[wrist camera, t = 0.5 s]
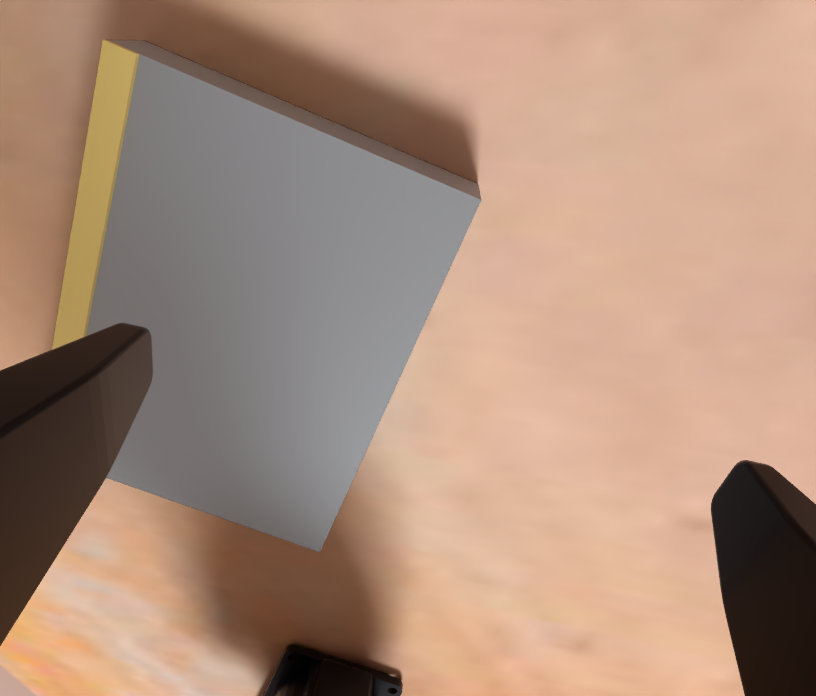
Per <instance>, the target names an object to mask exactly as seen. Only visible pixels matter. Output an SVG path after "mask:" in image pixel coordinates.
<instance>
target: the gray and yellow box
mask: <svg viewBox="0 0 816 696" xmlns="http://www.w3.org/2000/svg"><path fill="white" fill-rule="evenodd" d="M480 202H481V196H480V191H479V186H478V184H476V183H474V182H472V181H470V180H467V179H465V178H463V177H460V176H458V175H456V174H453V173H451V172H449V171H446V170H444V169H442V168H439V167H437V166H435V165H432V164H430V163H428V162H425V161H423V160H421V159H418V158H416V157H414V156H411V155H409V154H407V153H404V152H402V151H400V150H397V149H395V148H393V147H390V146H388V145H386V144H383V143H381V142H379V141H376V140H374V139H372V138H369V137H367V136H365V135H362V134H360V133H358V132H356V131H353V130H351V129H349V128H346V127H344V126H342V125H339V124H337V123H335V122H332V121H330V120H328V119H325V118H323V117H321V116H318V115H316V114H314V113H311V112H309V111H307V110H304V109H302V108H300V107H297V106H295V105H293V104H290V103H288V102H286V101H283V100H281V99H279V98H276V97H274V96H272V95H269V94H267V93H265V92H262V91H260V90H258V89H255V88H253V87H251V86H248V85H246V84H244V83H242V82H239V81H237V80H235V79H232V78H230V77H228V76H225V75H223V74H221V73H218V72H216V71H214V70H211V69H209V68H207V67H204V66H202V65H200V64H197V63H195V62H193V61H190V60H188V59H186V58H183V57H181V56H179V55H176V54H174V53H172V52H169V51H167V50H165V49H162V48H160V47H158V46H155V45H153V44H151V43H148V42H146V41H140V40H103V41H102V47H101V53H100V59H99V66H98V72H97V78H96V84H95V90H94V96H93V102H92V108H91V114H90V120H89V126H88V132H87V138H86V144H85V151H84V157H83V163H82V169H81V175H80V181H79V187H78V193H77V199H76V205H75V211H74V217H73V223H72V229H71V236H70V242H69V248H68V254H67V260H66V266H65V272H64V278H63V284H62V290H61V296H60V302H59V308H58V314H57V320H56V327H55V333H54V339H53V345H52V350H53V349H55V348H58V347H60V346H63V345H65V344H68V343H70V342H73V341H75V340H78V339H80V338H83V337H85V336H88V335H90V334H92V333H95V332H97V331H100V330H102V329H105V328H107V327H110V326H112V325H115V324H118V323H128V324H132V325H137V326H141V327H145V328H147V329H148V330H149V331H150V333H151V337H152V358H153V378H152V382H151V385H150V388H149V390H148V392H147V394H146V396H145V399H144V401H143V403H142V405H141V407H140V409H139V411H138V413H137V415H136V418H135V420H134V422H133V424H132V426H131V428H130V430H129V432H128V435H127V437H126V439H125V441H124V443H123V445H122V447H121V449H120V451H119V454H118V456H117V458H116V460H115V462H114V464H113V466H112V468H111V470H110V472H109V473H108V475H107V477H106V478H108V479H111V480H114V481H117V482H120V483H123V484H125V485H128V486H131V487H134V488H137V489H140V490H143V491H145V492H148V493H151V494H154V495H157V496H160V497H163V498H166V499H168V500H171V501H174V502H177V503H180V504H183V505H186V506H188V507H191V508H194V509H197V510H200V511H203V512H206V513H208V514H211V515H214V516H217V517H220V518H223V519H226V520H229V521H231V522H234V523H237V524H240V525H243V526H246V527H249V528H251V529H254V530H257V531H260V532H263V533H266V534H269V535H272V536H274V537H277V538H280V539H283V540H286V541H289V542H292V543H294V544H297V545H300V546H303V547H306V548H309V549H312V550H314V551H317V552H320V551H321V549H322V546H323V544H324V542H325V540H326V538H327V536H328V533H329V531H330V529H331V527H332V525H333V522H334V520H335V518H336V516H337V514H338V512H339V509H340V507H341V505H342V503H343V501H344V498H345V496H346V494H347V492H348V490H349V488H350V485H351V483H352V481H353V479H354V477H355V474H356V472H357V470H358V468H359V466H360V464H361V461H362V459H363V457H364V455H365V453H366V450H367V448H368V446H369V444H370V442H371V439H372V437H373V435H374V433H375V431H376V429H377V426H378V424H379V422H380V420H381V418H382V415H383V413H384V411H385V409H386V407H387V405H388V402H389V400H390V398H391V396H392V394H393V391H394V389H395V387H396V385H397V383H398V381H399V378H400V376H401V374H402V372H403V370H404V367H405V365H406V363H407V361H408V359H409V357H410V354H411V352H412V350H413V348H414V346H415V343H416V341H417V339H418V337H419V335H420V333H421V330H422V328H423V326H424V324H425V322H426V319H427V317H428V315H429V313H430V311H431V308H432V306H433V304H434V302H435V300H436V298H437V295H438V293H439V291H440V289H441V287H442V284H443V282H444V280H445V278H446V276H447V274H448V271H449V269H450V267H451V265H452V263H453V260H454V258H455V256H456V254H457V252H458V250H459V247H460V245H461V243H462V241H463V239H464V236H465V234H466V232H467V230H468V228H469V226H470V223H471V221H472V219H473V217H474V215H475V212H476V210H477V208H478V206H479V204H480Z"/></svg>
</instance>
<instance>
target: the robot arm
mask: <svg viewBox="0 0 816 696" xmlns="http://www.w3.org/2000/svg"><path fill="white" fill-rule="evenodd" d="M152 378H153V358H152V337H151V333H150V331H149V330H148V329H147V328H145V327H141V326H137V325H132V324H128V323H118V324H115V325H112V326H110V327H107V328H105V329H102V330H100V331H97V332H95V333H92V334H90V335H88V336H85V337H83V338H80V339H78V340H75V341H73V342H70V343H68V344H65V345H63V346H60V347H58V348H55V349H53V350H50V351H48V352H45V353H43V354H40V355H38V356H35V357H33V358H30V359H28V360H25V361H23V362H21V363H18V364H16V365H13V366H11V367H8V368H6V369H3V370H1V371H0V646H1V644H2V643H3V641H4V639H5V638H6V636H7V635H8V633H9V631H10V630H11V628H12V627H13V625H14V623H15V622H16V620H17V619H18V617H19V616H20V614H21V612H22V611H23V609H24V608H25V606H26V604H27V603H28V601H29V600H30V598H31V596H32V595H33V593H34V592H35V590H36V589H37V587H38V585H39V584H40V582H41V581H42V579H43V577H44V576H45V574H46V573H47V571H48V569H49V568H50V566H51V565H52V563H53V562H54V560H55V558H56V557H57V555H58V554H59V552H60V550H61V549H62V547H63V546H64V544H65V542H66V541H67V539H68V538H69V536H70V535H71V533H72V531H73V530H74V528H75V527H76V525H77V523H78V522H79V520H80V519H81V517H82V515H83V514H84V512H85V511H86V509H87V508H88V506H89V504H90V503H91V501H92V500H93V498H94V496H95V495H96V493H97V492H98V490H99V488H100V487H101V485H102V484H103V482H104V480H105V478H106V477H107V475H108V473H109V472H110V470H111V468H112V466H113V464H114V462H115V460H116V458H117V456H118V454H119V451H120V449H121V447H122V445H123V443H124V441H125V439H126V437H127V435H128V432H129V430H130V428H131V426H132V424H133V422H134V420H135V418H136V415H137V413H138V411H139V409H140V407H141V405H142V403H143V401H144V399H145V396H146V394H147V392H148V390H149V388H150V385H151V382H152ZM711 515H712V523H713V531H714V538H715V546H716V554H717V562H718V570H719V578H720V586H721V592H722V599H723V604H724V609H725V614H726V619H727V623H728V627H729V631H730V635H731V640H732V644H733V648H734V652H735V656H736V660H737V665H738V669H739V673H740V677H741V681H742V686H743V690H744V694H745V696H816V504H815V503H814V502H812V501H811V500H810V499H809V498H808V497H807V496H805V495H804V494H803V493H802V492H801V491H800V490H798V489H797V488H796V487H795V486H794V485H793V484H791V483H790V482H789V481H788V480H787V479H786V478H784V477H783V476H782V475H781V474H780V473H779V472H778V471H776V470H775V469H774V468H773V467H771V466H769V465H766V464H762V463H758V462H753V461H748V460H743V461H740V462H738V463H737V464H736V465H735V466H734V468H733V469H732V470H731V472H730V473H729V475H728V476H727V477H726V479H725V480H724V482H723V483H722V484H721V486H720V487H719V489H718V490H717V491H716V493H715V494H714V497H713V499H712V503H711ZM402 686H403V684H402V681H401V680H399V679H397V678H395V677H392V676H389V675H386V674H383V673H380V672H377V671H374V670H371V669H368V668H365V667H362V666H359V665H355V664H352V663H349V662H346V661H343V660H340V659H337V658H334V657H331V656H328V655H325V654H322V653H319V652H316V651H313V650H310V649H307V648H304V647H301V646H298V645H289V646H287V647H286V648H285V650H284V652H283V654H282V657H281V659H280V661H279V663H278V665H277V667H276V669H275V672H274V674H273V676H272V678H271V680H270V682H269V684H268V686H267V689H266V691H265V693H264V695H263V696H400V695H401V693H402Z"/></svg>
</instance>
